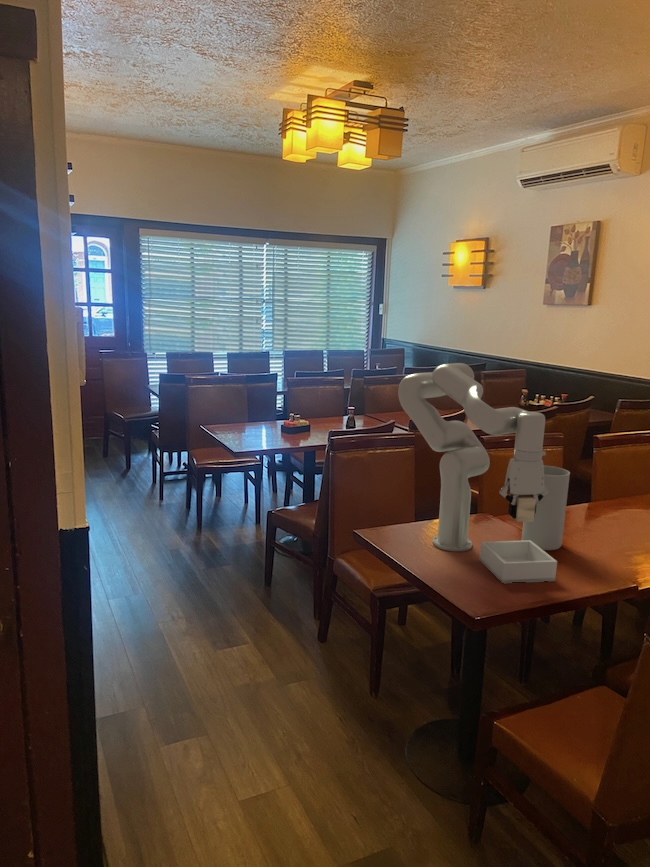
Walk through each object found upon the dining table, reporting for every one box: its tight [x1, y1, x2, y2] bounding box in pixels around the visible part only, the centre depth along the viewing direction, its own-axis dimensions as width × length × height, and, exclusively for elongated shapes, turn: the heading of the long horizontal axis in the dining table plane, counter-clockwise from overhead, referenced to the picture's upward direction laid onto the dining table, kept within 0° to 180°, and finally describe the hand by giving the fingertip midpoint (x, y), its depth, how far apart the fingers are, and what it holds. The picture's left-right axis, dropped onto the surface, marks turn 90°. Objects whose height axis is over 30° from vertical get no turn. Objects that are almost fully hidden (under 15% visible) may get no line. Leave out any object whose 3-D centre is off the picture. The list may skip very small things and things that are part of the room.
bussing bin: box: [479, 539, 558, 584], centre depth 184 cm, size 16×16×6 cm
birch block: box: [509, 495, 536, 523], centre depth 181 cm, size 5×5×7 cm
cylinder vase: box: [521, 465, 571, 551], centre depth 203 cm, size 12×12×25 cm
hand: (521, 515), depth 181 cm, fingers closed on birch block, 5 cm apart
